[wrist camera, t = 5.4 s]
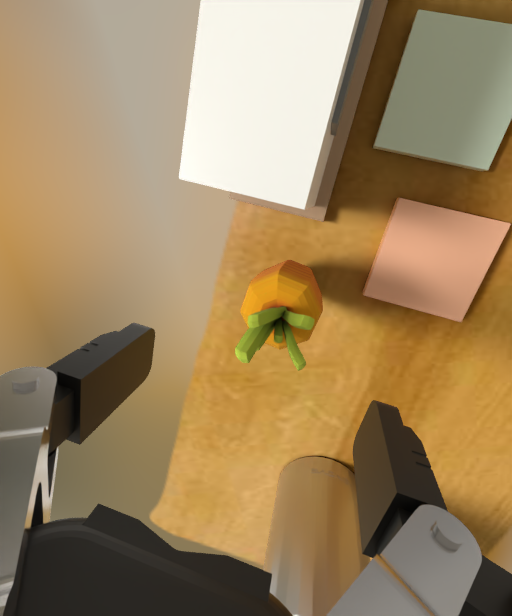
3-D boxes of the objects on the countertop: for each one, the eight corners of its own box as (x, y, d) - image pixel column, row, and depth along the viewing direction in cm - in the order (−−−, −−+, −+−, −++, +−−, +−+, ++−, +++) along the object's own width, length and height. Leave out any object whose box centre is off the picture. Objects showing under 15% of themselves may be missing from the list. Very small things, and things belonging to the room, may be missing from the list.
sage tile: (481, 171, 23) (488, 170, 22) (372, 148, 24) (374, 145, 23) (541, 38, 20) (551, 30, 19) (414, 17, 21) (418, 9, 20)
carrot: (324, 245, 27) (322, 292, 13) (323, 301, 28) (319, 396, 15) (267, 246, 28) (209, 291, 14) (269, 299, 29) (218, 387, 16)
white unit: (323, 220, 26) (320, 237, 14) (233, 198, 27) (156, 196, 15) (395, -25, 21) (495, -359, 8) (278, -43, 22) (213, -364, 9)
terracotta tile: (456, 317, 26) (461, 322, 26) (362, 292, 27) (363, 295, 27) (503, 222, 24) (511, 223, 23) (396, 197, 25) (399, 197, 24)
